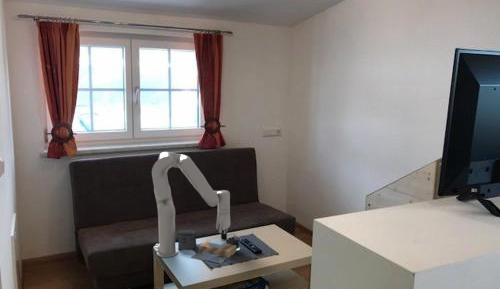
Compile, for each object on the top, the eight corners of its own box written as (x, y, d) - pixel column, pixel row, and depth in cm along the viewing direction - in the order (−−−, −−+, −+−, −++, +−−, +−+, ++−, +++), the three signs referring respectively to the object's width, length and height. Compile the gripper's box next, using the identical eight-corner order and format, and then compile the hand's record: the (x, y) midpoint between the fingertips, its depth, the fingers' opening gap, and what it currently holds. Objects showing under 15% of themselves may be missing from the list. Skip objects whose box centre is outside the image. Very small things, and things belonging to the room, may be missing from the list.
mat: (190, 257, 227) (190, 257, 227) (199, 251, 235) (199, 251, 235) (220, 264, 219) (220, 263, 219) (228, 258, 227) (228, 257, 227)
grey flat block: (208, 246, 234) (208, 242, 233) (213, 242, 239) (213, 238, 239) (221, 248, 230) (221, 244, 229) (226, 245, 235) (226, 241, 235)
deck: (199, 251, 235) (199, 245, 235) (208, 245, 244) (207, 239, 244) (228, 258, 227) (228, 251, 226) (236, 251, 236) (236, 245, 235)
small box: (196, 245, 245) (196, 229, 243) (195, 249, 238) (195, 233, 237) (179, 245, 244) (179, 229, 243) (178, 250, 238) (177, 233, 236)
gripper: (224, 206, 247) (224, 234, 250) (212, 213, 234) (212, 242, 236) (234, 208, 244) (235, 236, 246) (223, 215, 230) (223, 244, 233)
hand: (224, 239), depth 241 cm, fingers closed
